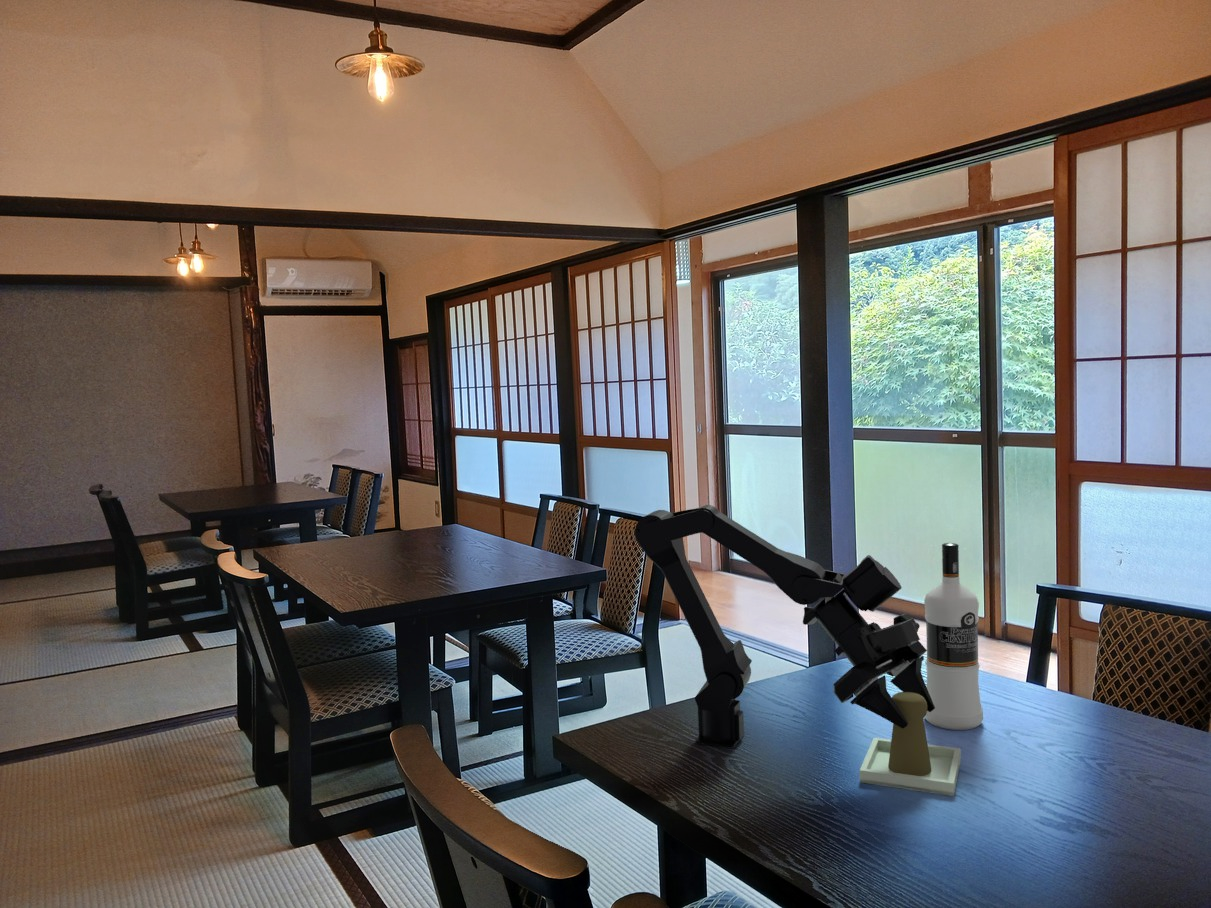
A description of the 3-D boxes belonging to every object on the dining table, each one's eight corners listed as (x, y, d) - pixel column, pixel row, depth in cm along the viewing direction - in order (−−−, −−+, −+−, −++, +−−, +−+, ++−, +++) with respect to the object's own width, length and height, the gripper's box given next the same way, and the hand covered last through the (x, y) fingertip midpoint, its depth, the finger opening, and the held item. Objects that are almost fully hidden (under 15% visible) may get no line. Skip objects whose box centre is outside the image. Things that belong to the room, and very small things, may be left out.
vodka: (960, 708, 155) (957, 536, 153) (995, 727, 146) (993, 545, 144) (912, 715, 153) (909, 541, 151) (945, 735, 144) (942, 550, 142)
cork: (934, 777, 128) (933, 702, 127) (890, 775, 129) (888, 701, 128) (928, 760, 134) (927, 688, 133) (886, 758, 135) (884, 687, 134)
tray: (860, 782, 129) (859, 770, 128) (874, 748, 140) (873, 737, 140) (954, 796, 123) (953, 783, 123) (960, 760, 134) (960, 748, 134)
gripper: (850, 612, 126) (926, 706, 119) (913, 587, 139) (985, 671, 132) (803, 657, 132) (873, 749, 125) (868, 629, 145) (934, 711, 138)
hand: (919, 718), depth 130 cm, fingers open, 8 cm apart
